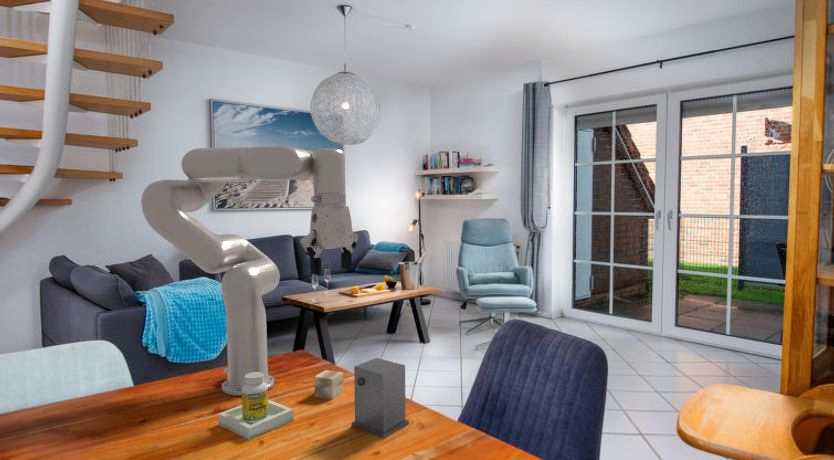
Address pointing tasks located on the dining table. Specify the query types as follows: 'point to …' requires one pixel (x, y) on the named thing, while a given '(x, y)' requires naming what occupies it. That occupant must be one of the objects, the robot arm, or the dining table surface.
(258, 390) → the supplement bottle
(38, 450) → the dining table surface
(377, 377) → the tabletop unit
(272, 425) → the tray
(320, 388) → the beech block
